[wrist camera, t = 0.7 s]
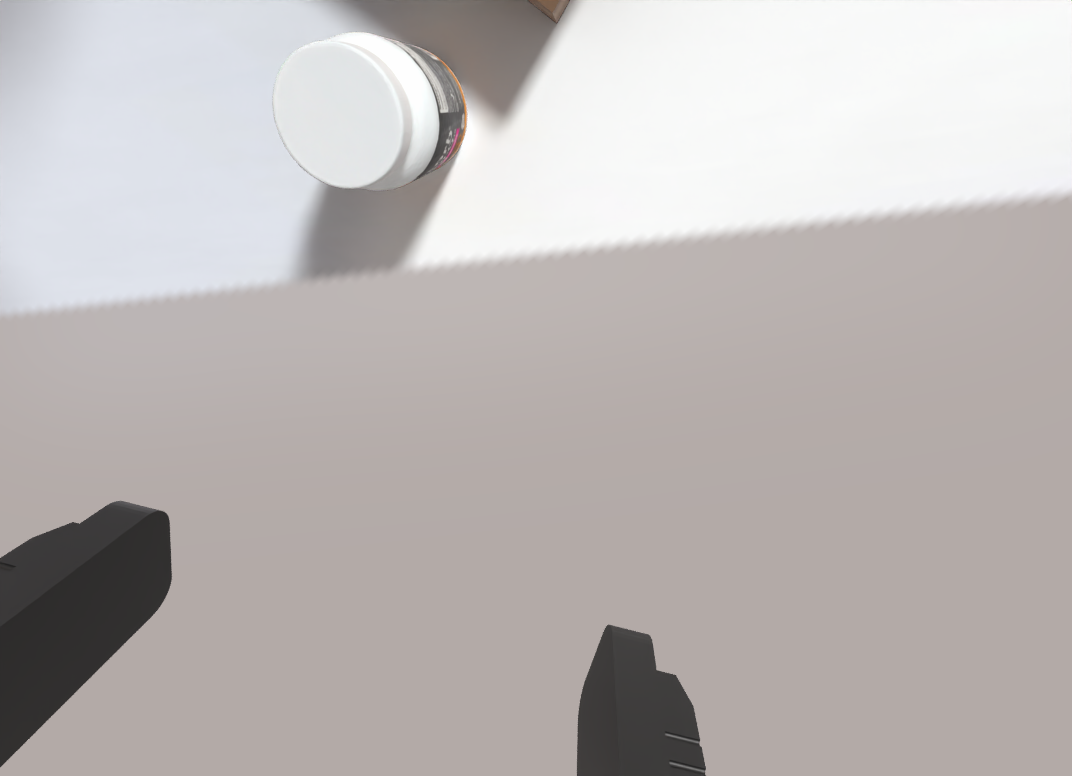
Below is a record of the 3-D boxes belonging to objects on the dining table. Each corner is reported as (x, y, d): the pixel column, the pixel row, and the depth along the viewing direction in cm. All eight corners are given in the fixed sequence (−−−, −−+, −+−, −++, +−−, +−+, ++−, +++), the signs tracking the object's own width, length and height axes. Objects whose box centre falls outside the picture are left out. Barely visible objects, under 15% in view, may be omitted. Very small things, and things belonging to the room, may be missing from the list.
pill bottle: (415, 193, 29) (345, 237, 20) (337, 100, 27) (222, 106, 18) (493, 121, 27) (451, 136, 18) (414, 15, 25) (326, -24, 16)
